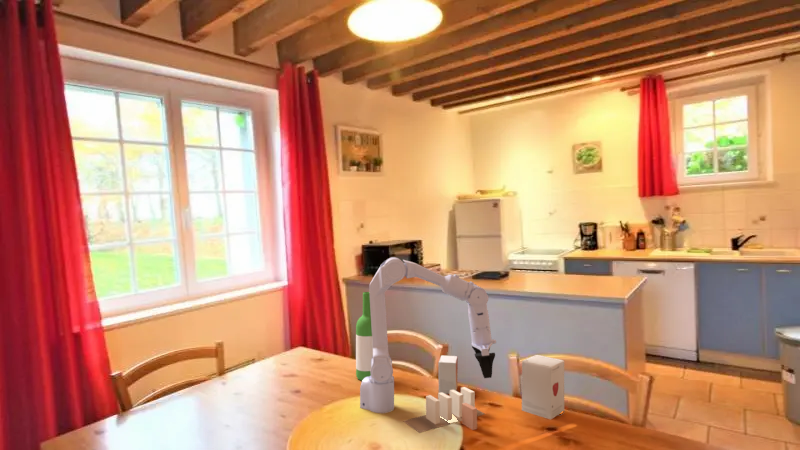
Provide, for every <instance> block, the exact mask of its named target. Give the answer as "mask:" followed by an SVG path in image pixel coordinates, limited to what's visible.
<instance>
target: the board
mask: <svg viewBox="0 0 800 450" xmlns="http://www.w3.org/2000/svg"><path fill="white" fill-rule="evenodd" d="M453 415H454V414H453ZM484 415H486V413H485V412H482V411H481V410H479V409H477V417H480V416H484ZM454 416H455V417H456V418H457V420H458V421H459V422H462V417H460V418H459V417H457V416H456V415H454ZM402 422H404V423H405V424H406V425H408V426H409V427H410V428H411V429H413V430H414V431H416V432H418V433H419V434H421V433H424V432H428V431H430V430H434V429H437V428H442V427H445V426H450V425H451V424H450V423H448V422H447V421H445V420H444V419H442V418H440V423H438V424H434V423H433V422H431V421H430V420H428V419H427V418H426V414H424V415H420V416H416V417H413V418H412V417H411V418H409V419H405V420H403V421H402Z"/></svg>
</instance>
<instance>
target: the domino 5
mask: <svg viewBox="0 0 800 450" xmlns="http://www.w3.org/2000/svg"><path fill="white" fill-rule="evenodd" d="M477 410H478V408H477V407H476V406H475V407H473V406H471V405H469V404H468V403H463V404H462V421H461V424H462V425H464V426H465V427H467V428H469V429H470V430H472V431H473V430H477V429H478V416H477Z"/></svg>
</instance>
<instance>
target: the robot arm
mask: <svg viewBox="0 0 800 450" xmlns="http://www.w3.org/2000/svg"><path fill="white" fill-rule="evenodd" d="M405 277H406V279H411V278H418V279H420V280H423V281H425V282H428V283H432V284H433V285H436V286H439V287H440V288H441V291H442V293H444V294H446V295H447V296H450V297H453V298H455V299H457V300H459V301H462V302H463V301H464V302H465V301H466V303H467V309H468V312H467V314H468V321H469V331H470V337H471V338H470V339H471V347H472V349H473V351H474V357H475V359H476V360H477V362H478V365H479V366H480V371H481V373H482V376H483V378H484V379H490V378H492V376H493V364H494V360H495V357H496V353H495V352H490V349H491V347H492V345H493V344H497V340H496V339H495V338H494V339H492V333H491V325H490V319H489V317H490V316H489V310H488V301H489V295H488V292H487V291H486V289H484V288H483V287H481V286H479V285H477V284H475V282H473V281H471V280H470V281H468V280H465V279H463V278H460V275H458V274H456V273H455V274H447V275H442V274H440V273H437V272H436V271H433V270H431V269H429V268H427V267H424V266H423V265H420V264H418V263H416V262H413V261H409V260H405V259H402V260H401V259H400V258H399V257H395V256H391V257H389V258H387V259H386V260H384V261H383V262H382V263H381V264H380V266H379V268H378V269H377V271H376V272H375V274H374V276H373V277H372V279H371V281H370V283H369V287H368V292H369V293H370V310H371V326H372V343H373V357H372V359H371V371H370V372H371V376H369V377H365V378H364V379H363V381H362V380H361V384H360V387H359V391H360V392H359V399H360V400H359V409H363V410H366V411H367V410H368V411H370V412H372V413H375V414H376V413H377V414H387V413H391V412H392V411H394V410H395V409H394V408H395V377H394V375H393V374H394V368H393V360H392V357H391V356H390V354H389V341H388V326H387V325H388V324H387V321H388V320H387V307H386V292H387V290H388V289H390V288H391V286H393V284H396V283H398V282H399V281H401V280H402V279H404V278H405Z"/></svg>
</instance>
